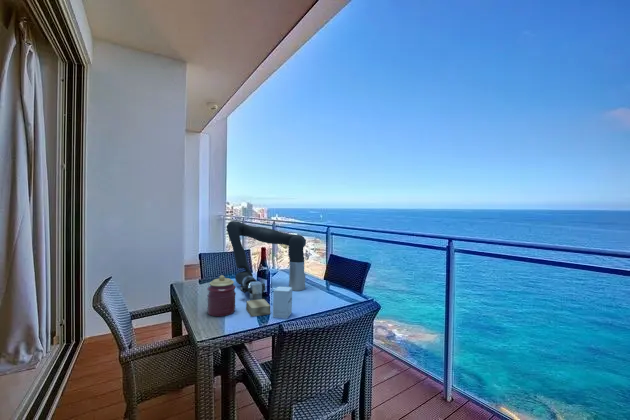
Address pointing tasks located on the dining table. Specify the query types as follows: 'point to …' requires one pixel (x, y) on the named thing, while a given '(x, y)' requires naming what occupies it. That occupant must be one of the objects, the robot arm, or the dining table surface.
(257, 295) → the block
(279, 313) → the supplement box
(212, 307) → the canister
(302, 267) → the robot arm
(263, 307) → the stand
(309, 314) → the dining table surface
